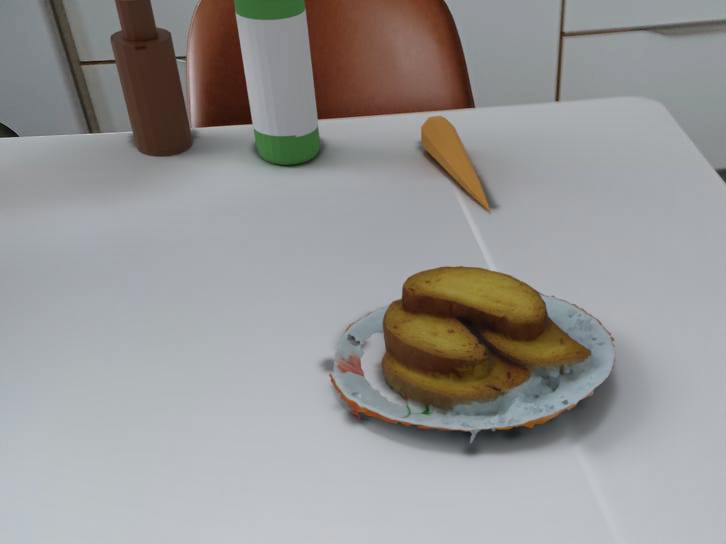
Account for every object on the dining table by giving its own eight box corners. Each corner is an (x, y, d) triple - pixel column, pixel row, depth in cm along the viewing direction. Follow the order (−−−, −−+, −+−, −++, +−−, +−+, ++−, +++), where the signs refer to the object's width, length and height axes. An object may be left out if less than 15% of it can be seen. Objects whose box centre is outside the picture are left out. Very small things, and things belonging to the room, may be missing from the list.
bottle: (136, 158, 117) (99, 6, 105) (137, 136, 122) (101, -12, 110) (193, 153, 118) (162, 2, 106) (192, 132, 123) (162, -15, 111)
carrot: (423, 154, 120) (410, 121, 117) (455, 135, 120) (442, 102, 116) (479, 238, 110) (466, 205, 106) (514, 218, 109) (502, 185, 105)
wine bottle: (256, 144, 120) (208, -165, 98) (319, 140, 121) (285, -167, 99) (258, 169, 115) (208, -151, 93) (323, 165, 116) (289, -153, 94)
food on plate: (337, 472, 77) (328, 402, 72) (325, 314, 93) (316, 248, 88) (646, 445, 79) (658, 375, 74) (581, 296, 96) (587, 231, 91)
